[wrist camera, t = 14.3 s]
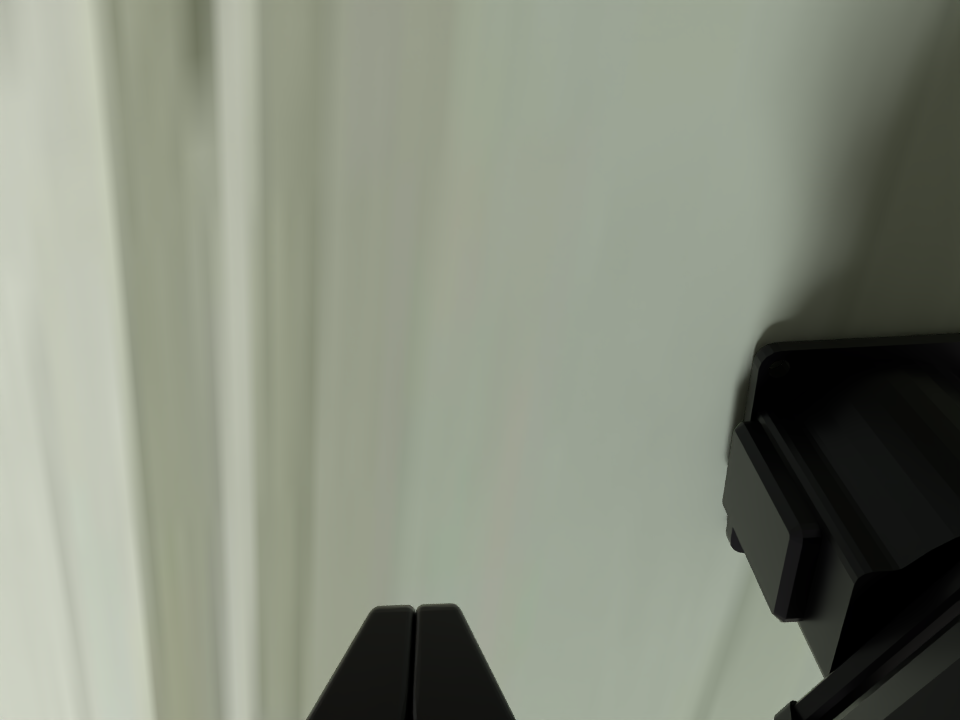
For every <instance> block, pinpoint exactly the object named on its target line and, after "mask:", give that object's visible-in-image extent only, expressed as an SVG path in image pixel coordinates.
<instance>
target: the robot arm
mask: <svg viewBox="0 0 960 720" xmlns="http://www.w3.org/2000/svg"><path fill="white" fill-rule="evenodd" d="M777 360H784V361H783V363H782V365H780V366H779V367H778V368H775V369H769V367H770V365H771V364H772V363H773V362H775V361H777ZM723 506H724V508H725V510H726V513H727V515H728V521H727V527H726V535H727V538H728V540H729V542H730V545H731V547H732V548H733V549H734V550H735V551H737V552H740V553H745V555H746V557H747V559H748V562H749V564H750V566H751V568H752V570H753V573H754V575H755V577H756V579H757V582H758V584H759V586H760V588H761V590H762V593H763V595H764V597H765V599H766V602H767V604H768V606H769V608H770V610H771V613H772V614H773V615H774V616H775V617H777V618H778V619H779V620H780V621H781V622H798V625H799V627H800V629H801V631H802V633H803V635H804V637H805V639H806V641H807V643H808V645H809V648H810V650H811V652H812V654H813V656H814V658H815V660H816V662H817V664H818V666H819V668H820V671H821V673H822V675H823V677H824V679H823V680H822V681H821V682H820V683H819V684H818V685H816V686H815V687H814V688H813V689H812V690H811V691H809V692H808V693H807V694H806V695H805V696H804V697H803V698H801V699H800V700H799V701H798V702H797V701H791V702H790V703H788V704H787V705H786V706H785V707H784V708H783V709H782V710H780V711H779V712H778V713H777V714H776V715H775V717H774V720H960V333H956V334H937V335H917V336H897V337H877V338H857V339H837V340H817V341H797V342H778V343H772V344H768V345H766V346H765V347H763V348H761V349H760V350H759V351H758V353H757V354H756V355H755V358H754V360H753V365H752V371H751V378H750V384H749V390H748V396H747V403H746V409H745V415H744V421H742V422H740V423H739V424H738V425H737V427H736V428H735V429H734V430H733V435H732V442H731V448H730V455H729V461H728V468H727V475H726V481H725V488H724V494H723ZM306 720H516V719H515V717H514V715H513V713H512V711H511V709H510V707H509V705H508V703H507V701H506V699H505V697H504V695H503V693H502V691H501V689H500V687H499V685H498V683H497V681H496V679H495V677H494V675H493V673H492V671H491V669H490V667H489V665H488V663H487V661H486V659H485V657H484V655H483V653H482V651H481V649H480V647H479V645H478V643H477V641H476V639H475V637H474V635H473V633H472V631H471V629H470V627H469V625H468V623H467V621H466V619H465V617H464V615H463V613H462V611H461V609H460V608H459V607H458V606H457V605H456V604H452V603H447V604H423V605H420V606H419V607H418V608H417V610H416V612H415V609H414V608H413V607H412V606H410V605H391V606H377V607H375V608H374V609H372V610H371V612H370V613H369V614H368V616H367V618H366V619H365V621H364V623H363V624H362V626H361V628H360V629H359V631H358V633H357V635H356V636H355V638H354V640H353V641H352V643H351V645H350V646H349V648H348V650H347V651H346V653H345V655H344V657H343V658H342V660H341V662H340V663H339V665H338V667H337V668H336V670H335V672H334V673H333V675H332V677H331V679H330V680H329V682H328V684H327V685H326V687H325V689H324V690H323V692H322V694H321V695H320V697H319V699H318V701H317V702H316V704H315V706H314V707H313V709H312V711H311V712H310V714H309V716H308V717H307V719H306Z"/></svg>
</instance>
